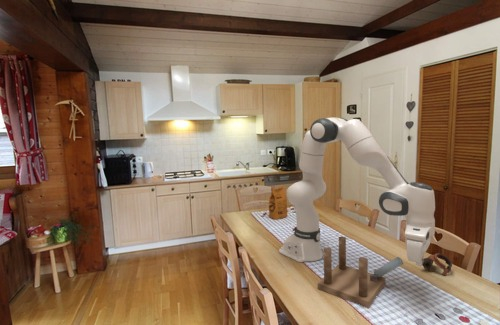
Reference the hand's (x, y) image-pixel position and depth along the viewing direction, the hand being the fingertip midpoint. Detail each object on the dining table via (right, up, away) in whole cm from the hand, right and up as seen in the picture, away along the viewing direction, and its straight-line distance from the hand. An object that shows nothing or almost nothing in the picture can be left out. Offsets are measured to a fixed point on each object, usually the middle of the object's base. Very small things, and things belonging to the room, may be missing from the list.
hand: (419, 264), depth 102 cm
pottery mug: (+19, -10, +20) cm, 30 cm away
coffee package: (-41, -3, +102) cm, 110 cm away
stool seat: (-21, -13, +11) cm, 27 cm away
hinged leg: (-11, -9, +11) cm, 18 cm away
